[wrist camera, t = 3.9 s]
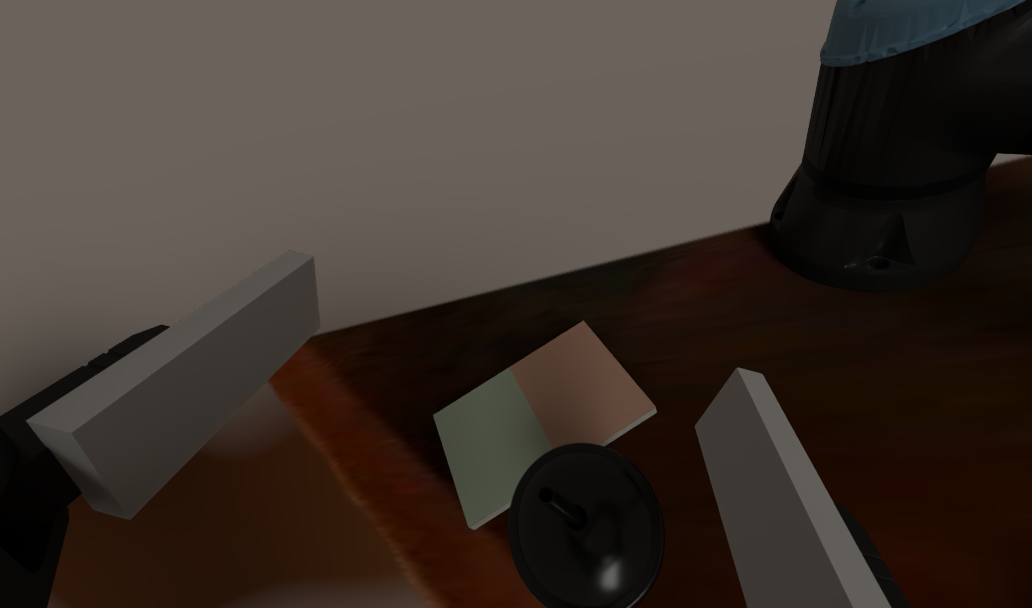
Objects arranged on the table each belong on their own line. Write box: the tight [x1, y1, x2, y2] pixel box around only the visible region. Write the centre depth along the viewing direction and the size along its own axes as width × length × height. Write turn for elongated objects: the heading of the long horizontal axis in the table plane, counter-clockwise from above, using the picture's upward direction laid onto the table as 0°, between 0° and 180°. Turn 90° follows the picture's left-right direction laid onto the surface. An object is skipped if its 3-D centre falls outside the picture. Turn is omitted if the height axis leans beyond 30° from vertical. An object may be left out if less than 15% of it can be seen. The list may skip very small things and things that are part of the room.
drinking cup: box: [508, 443, 665, 608], centre depth 22 cm, size 8×8×20 cm
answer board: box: [433, 321, 657, 530], centre depth 38 cm, size 19×12×1 cm, turn 116°
